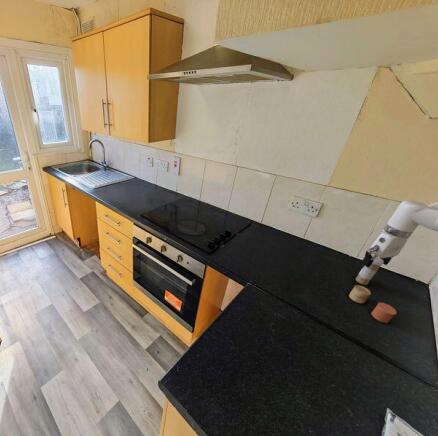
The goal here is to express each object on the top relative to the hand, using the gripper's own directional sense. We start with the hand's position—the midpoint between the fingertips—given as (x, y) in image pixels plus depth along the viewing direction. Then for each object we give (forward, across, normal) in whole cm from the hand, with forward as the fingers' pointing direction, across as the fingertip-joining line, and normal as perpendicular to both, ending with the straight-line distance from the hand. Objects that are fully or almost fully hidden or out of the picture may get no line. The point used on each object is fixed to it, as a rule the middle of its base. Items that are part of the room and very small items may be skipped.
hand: (373, 264), depth 97 cm
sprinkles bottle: (+11, 0, 0) cm, 11 cm away
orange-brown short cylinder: (+11, -12, -16) cm, 23 cm away
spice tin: (+11, -12, -7) cm, 17 cm away
